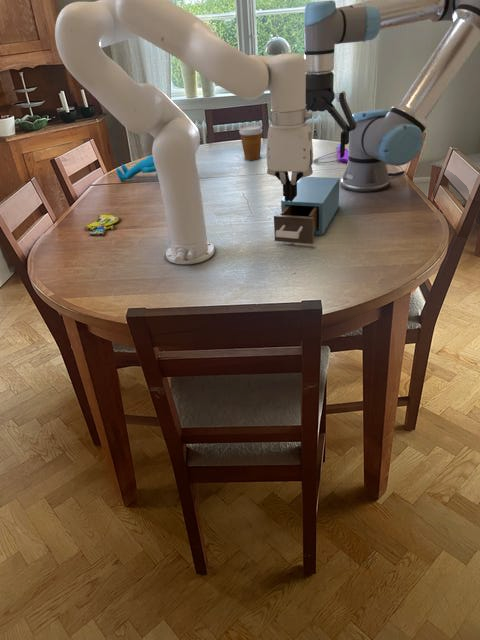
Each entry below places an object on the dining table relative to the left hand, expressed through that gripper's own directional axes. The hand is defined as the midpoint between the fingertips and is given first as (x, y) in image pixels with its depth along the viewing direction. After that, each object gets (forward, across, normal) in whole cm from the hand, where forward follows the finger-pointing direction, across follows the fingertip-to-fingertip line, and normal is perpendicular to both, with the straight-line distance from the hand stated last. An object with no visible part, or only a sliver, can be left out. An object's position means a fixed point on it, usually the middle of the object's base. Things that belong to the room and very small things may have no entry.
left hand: (290, 199), depth 115 cm
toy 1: (+13, +61, -5) cm, 63 cm away
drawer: (+12, 0, -9) cm, 15 cm away
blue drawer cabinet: (+13, 0, -21) cm, 25 cm away
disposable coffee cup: (+13, +40, -83) cm, 93 cm away
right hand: (-2, 0, -29) cm, 29 cm away
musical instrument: (+13, +8, -87) cm, 88 cm away
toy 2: (+13, +68, -51) cm, 86 cm away
